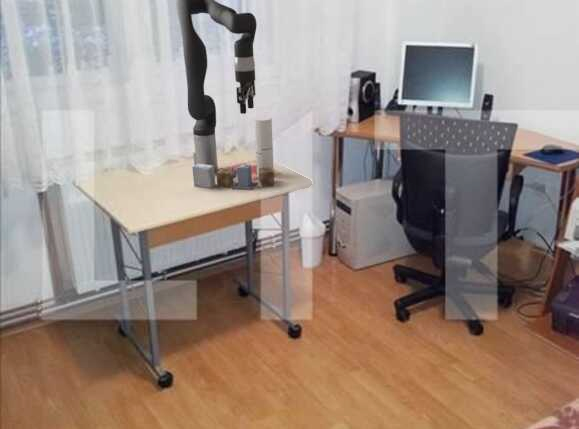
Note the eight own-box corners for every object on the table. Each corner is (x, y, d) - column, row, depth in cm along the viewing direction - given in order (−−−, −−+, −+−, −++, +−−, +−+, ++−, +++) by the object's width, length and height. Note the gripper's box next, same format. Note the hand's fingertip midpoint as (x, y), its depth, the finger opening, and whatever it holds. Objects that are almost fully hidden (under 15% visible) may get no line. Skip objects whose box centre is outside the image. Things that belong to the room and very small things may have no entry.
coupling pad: (232, 188, 261) (232, 187, 261) (239, 182, 268) (239, 180, 268) (250, 190, 259) (250, 188, 259) (257, 183, 266) (257, 182, 266)
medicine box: (215, 185, 266) (214, 165, 262) (210, 188, 262) (208, 168, 259) (199, 183, 269) (197, 163, 265) (193, 186, 265) (192, 166, 262)
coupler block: (248, 187, 261) (247, 167, 258) (237, 186, 262) (236, 166, 259) (252, 183, 265) (250, 164, 262) (241, 182, 266) (240, 163, 263)
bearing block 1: (217, 186, 264) (216, 172, 262) (222, 181, 269) (221, 168, 267) (233, 187, 262) (232, 174, 260) (238, 182, 267) (237, 169, 265)
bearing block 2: (261, 187, 262) (260, 173, 260) (258, 182, 268) (257, 168, 265) (274, 185, 263) (273, 171, 261) (271, 180, 269) (270, 167, 266)
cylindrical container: (273, 178, 272) (271, 120, 262) (256, 178, 272) (253, 120, 262) (274, 172, 278) (271, 115, 268) (257, 172, 278) (254, 116, 269)
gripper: (247, 72, 235) (250, 115, 241) (260, 65, 247) (262, 106, 254) (228, 71, 237) (231, 114, 243) (241, 64, 249) (244, 106, 256)
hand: (247, 110), depth 248 cm, fingers open, 8 cm apart
